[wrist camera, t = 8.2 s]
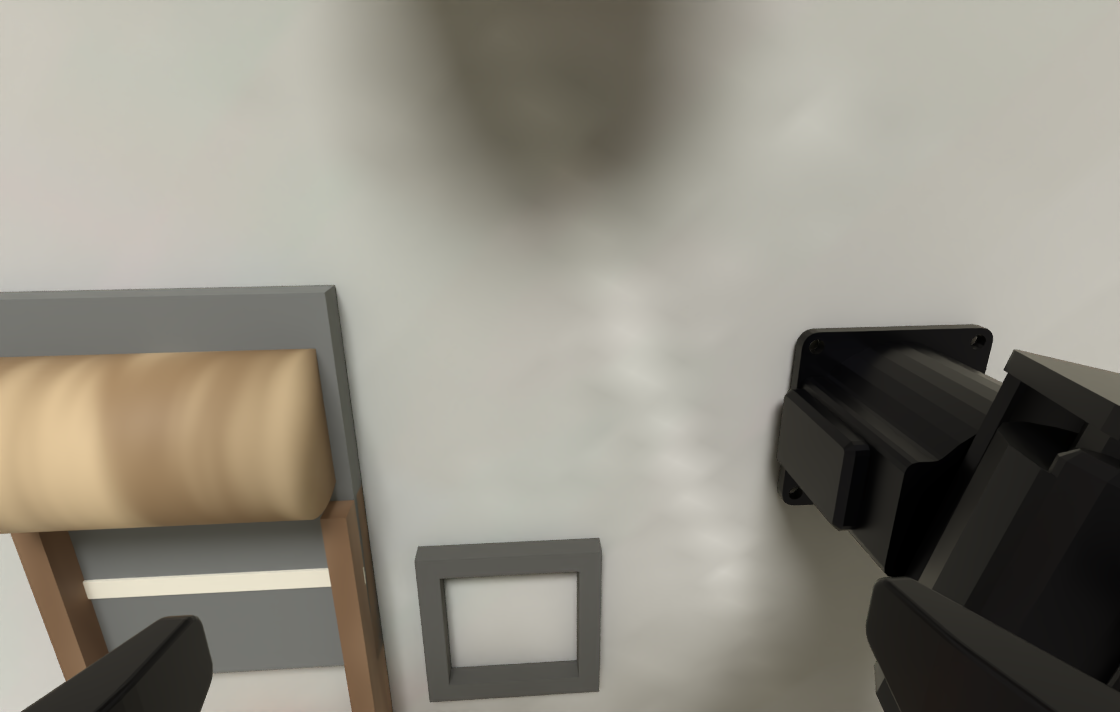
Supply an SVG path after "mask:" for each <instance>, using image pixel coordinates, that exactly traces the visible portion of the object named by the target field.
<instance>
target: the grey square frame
mask: <svg viewBox="0 0 1120 712" xmlns="http://www.w3.org/2000/svg"><path fill="white" fill-rule="evenodd" d="M415 569H416V579H417V588H418V597H419V607H420V616H421V625H422V635H423V644H424V653H425V663H426V672H427V681H428V691H429V700H430V702H441V701H457V700H472V699H488V698H504V697H519V696H535V695H551V694H566V693H582V692H597V691H599V670H600V619H601V569H602V550H601V546H600V541H599V538H590V539H569V540H548V541H527V542H507V543H486V544H465V545H444V546H423V547H418V550H417V554H416V558H415ZM561 572H577V660H576V661H559V662H543V663H526V664H510V665H493V666H477V667H460V668H451V659H450V647H449V636H448V625H447V613H446V602H445V591H444V580H443V579H444V578H463V577H483V576H502V575H522V574H541V573H561Z"/></svg>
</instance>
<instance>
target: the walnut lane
mask: <svg viewBox="0 0 1120 712" xmlns="http://www.w3.org/2000/svg"><path fill="white" fill-rule="evenodd" d="M356 498H358V499H357V502H358V505H357V506H358V512H359V519H360V520H359V522H360V528H361V529H360V530H361V537H362V543H363V544H362V547H363V550H364V551H363V554H364V555H363V556H364V561H365V562H364V563H365V569H366V572H365V573H366V576H367V579H366V580H367V583H368V585H367V586H368V593H369V594H368V593H367V586H366V584H365V579H364V572H363V567H364V565H363V558H362V551H361V544H360V537H359V530H358V523H357V516H356V509H355V502H354V500H346V501H329V503H328V505H327V507H326V509H325V511H324V512H323V514H322V516H321V518H320V523H321V529H322V535H323V541H324V547H325V553H326V559H327V565H328V571H329V577H330V583H331V589H332V595H333V601H334V607H335V613H336V619H337V625H338V631H339V636H340V642H341V648H342V654H343V660H344V666H345V672H346V678H347V684H348V690H349V696H350V702H351V708H352V712H393V710H392V703H391V696H390V688H389V681H388V673H387V666H386V659H385V651H384V644H383V645H382V646H381V644H382V643H383V642H382V643H379V642H381V641H382V640H380V639H379V637H380V636H378V635H380V633H378V632H380V631H381V630H379V629H378V627H377V625H379V624H378V623H380V622H378V623H377V622H376V621H377V620H378V618H380V617H379V616H380V615H378V614H377V612H378V609H376V607H377V608H378V606H377V603H378V602H376V601H375V600H376V599H377V598H376V595H375V594H376V592H375V591H376V590H375V589H376V588H374V587H375V580H374V579H375V578H374V576H373V575H374V572H373V570H372V569H373V565H372V564H373V563H372V560H371V559H372V556H370V555H371V552H370V551H371V549H370V546H369V545H370V541H369V534H368V526H367V519H366V512H365V507H364V506H365V504H364V497H363V490H362V484H361V487H360V489H359V491H358V493H357V496H356ZM366 529H367V530H366ZM11 536H12V539H13V541H14V544H15V547H16V549H17V552H18V555H19V557H20V560H21V563H22V565H23V568H24V571H25V573H26V576H27V579H28V581H29V584H30V587H31V589H32V592H33V595H34V597H35V600H36V603H37V605H38V608H39V611H40V613H41V616H42V619H43V621H44V624H45V627H46V629H47V632H48V635H49V637H50V640H51V643H52V645H53V648H54V651H55V653H56V656H57V659H58V661H59V664H60V667H61V669H62V672H63V675H64V677H65V680H66V681H67V680H69V679H70V678H72V677H73V676H75V675H76V674H78V673H79V672H81V671H82V670H84V669H85V668H87V667H88V666H90V665H91V664H93V663H94V662H96V661H97V660H99V659H100V658H102V657H103V656H105V655H106V654H108V653H109V652H108V649H107V646H106V643H105V640H104V637H103V634H102V631H101V628H100V625H99V622H98V619H97V616H96V613H95V610H94V607H93V604H92V601H91V599H88V597H87V594H86V591H85V588H84V585H83V581H84V577H83V574H82V571H81V568H80V565H79V562H78V559H77V556H76V553H75V550H74V548H73V545H72V542H71V539H70V536H69V533H68V531H50V532H28V533H11ZM368 559H369V560H370V561H369V560H368ZM371 563H372V564H371ZM372 572H373V573H372ZM370 574H371V575H370ZM372 574H373V575H372ZM372 576H373V578H372ZM373 581H374V583H373ZM371 582H372V583H371ZM372 584H374V585H372ZM372 590H373V591H374V592H375V593H374V592H373V591H372ZM368 595H369V597H368ZM374 597H375V598H374ZM368 598H369V600H368ZM369 601H370V602H369ZM372 601H373V602H372ZM369 604H370V608H369ZM374 606H375V607H374ZM371 608H372V609H371ZM370 610H371V612H370ZM376 610H377V612H376ZM374 611H375V612H376V613H375V612H374ZM370 613H371V615H370ZM375 617H376V618H375ZM377 617H378V618H377ZM371 621H372V622H371ZM378 621H380V620H378ZM372 624H373V625H372ZM380 625H381V624H380ZM372 627H373V628H372ZM379 628H380V629H381V627H379ZM377 630H378V631H377ZM377 633H378V634H377ZM381 636H382V635H381ZM374 638H375V639H374ZM382 639H383V638H382ZM379 640H380V641H379ZM374 641H375V642H374ZM379 646H381V647H382V648H381V647H380V649H378V648H379ZM379 650H381V651H379ZM378 656H379V657H378Z"/></svg>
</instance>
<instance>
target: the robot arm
mask: <svg viewBox="0 0 1120 712" xmlns="http://www.w3.org/2000/svg"><path fill="white" fill-rule="evenodd" d="M975 336H977V339H976V341H975V343H973V344H972V345H971V341H972V339H973V338H974V337H975ZM817 339H818V340H819V344H818V346H817V347H816V348H815V349H814V350H810V349H809V346H810V344H811V343H812V342H813V341H814V340H817ZM992 343H993V335H992V333H991V331H989V330H988V329H986V328H984V327H981V326H979V325H974V324H968V325H931V326H894V327H857V328H820V329H809V330H807V331H805V332H803V333H802V334H801V335H800V337H799V338H798V341H797V344H796V352H795V359H794V367H793V374H792V382H791V389H790V390H789V391H788V392H787V394H786V395H785V397H784V404H783V412H782V420H781V427H780V435H779V443H778V450H777V460H778V461H779V462H780V463H781V465H780V472H779V480H778V487H777V489H778V493H779V495H780V496H781V498H782V499H783V500H784V502H785V503H787V504H789V505H811V504H815V506H816V507H817V508H818V509H819V510H820V512H821V513H822V514H823V515H824V517H825V518H826V519H827V520H828V521H829V523H830V524H831V525H832V526H833V527H834V528H836V529H837V530H838V531H845V530H848V531H849V532H850V533H851V534H852V536H853V537H854V538H855V539H856V540H857V541H858V542H859V544H860V545H861V546H862V547H863V548H864V549H865V551H866V552H867V553H868V554H869V555H870V556H871V558H872V559H873V560H874V561H875V562H876V563H877V565H878V566H879V567H880V568H881V569H882V570H883V572H884V573H885V574H886V575H887V576H890V577H886V578H880V579H878V580H877V581H876V583H875V584H874V587H873V592H872V596H871V601H870V606H869V611H868V616H867V620H866V635H867V639H868V642H869V645H870V647H871V649H872V651H873V654H874V656H875V658H876V660H877V661H876V663H875V665H874V670H875V685H876V694H877V697H878V699H879V701H880V703H881V706H882V708H883V710H884V712H1120V373H1115V372H1111V371H1107V370H1102V369H1098V368H1094V367H1089V366H1085V365H1081V364H1076V363H1072V362H1068V361H1064V360H1059V359H1055V358H1051V357H1046V356H1042V355H1038V354H1033V353H1029V352H1025V351H1020V350H1016V349H1014V350H1013V352H1012V354H1011V356H1010V358H1009V360H1008V362H1007V364H1006V366H1005V368H1004V371H1006V372H1008V374H1007V376H1006V378H1005V379H1004V381H1003V383H1002V382H1000V381H998V380H996V379H994V378H992V377H989V376H987V375H985V371H986V367H987V363H988V359H989V355H990V351H991V347H992ZM794 487H798V488H797V490H796V491H795V492H793V493H789V492H790V490H791V489H792V488H794ZM903 576H904V577H903ZM212 675H213V662H212V658H211V654H210V650H209V647H208V643H207V639H206V635H205V631H204V627H203V624H202V622H201V620H200V619H199V617H197V616H194V615H181V616H167V617H163V618H160V619H159V620H157V621H155V622H154V623H152V624H151V625H149V626H148V627H146V628H145V629H143V630H142V631H140V632H139V633H137V634H136V635H134V636H133V637H131V638H130V639H128V640H127V641H125V642H124V643H123V644H121V645H120V646H118V647H117V648H115V649H114V650H112V651H111V652H109V653H108V654H106V655H105V656H103V657H102V658H100V659H99V660H97V661H96V662H94V663H93V664H91V665H90V666H88V667H87V668H85V669H84V670H82V671H81V672H79V673H78V674H76V675H75V676H73V677H72V678H70V679H69V680H67V681H66V682H64V683H63V684H62V685H60V686H59V687H57V688H56V689H54V690H53V691H51V692H50V693H48V694H47V695H45V696H44V697H42V698H41V699H39V700H38V701H36V702H35V703H33V704H32V705H30V706H29V707H27V708H26V709H24V710H23V711H21V712H200V711H201V709H202V706H203V703H204V701H205V698H206V695H207V692H208V690H209V687H210V684H211V680H212Z"/></svg>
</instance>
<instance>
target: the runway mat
mask: <svg viewBox="0 0 1120 712" xmlns="http://www.w3.org/2000/svg"><path fill="white" fill-rule="evenodd" d="M281 349H316V355H317V361H318V368H319V375H320V381H321V388H322V394H323V401H324V407H325V414H326V420H327V427H328V434H329V440H330V447H331V453H332V460H333V466H334V473H335V479H336V484H335V487H334V490H333V493H332V496H331V499H330V501H346V500H354V502H355V509H356V516H357V523H358V530H359V537H360V544H361V551H362V558H363V565H364V567H363V572H364V579H365V584H366V586H367V585H368V583H367V580H366V579H367V576H366V573H365V572H366V569H365V563H364V562H365V561H364V556H363V555H364V554H363V551H364V550H363V547H362V544H363V543H362V537H361V530H360V529H361V528H360V522H359V520H360V519H359V512H358V506H357V505H358V502H357V499H358V498H356V496H357V493H358V491H359V489H360V487H361V484H362V482H361V475H360V468H359V460H358V453H357V446H356V438H355V431H354V424H353V416H352V409H351V402H350V394H349V387H348V379H347V372H346V365H345V357H344V350H343V343H342V335H341V328H340V321H339V313H338V306H337V299H336V291H335V285H315V286H268V287H221V288H174V289H127V290H79V291H32V292H0V357H27V356H63V355H99V354H135V353H172V352H208V351H244V350H281ZM364 507H365V506H364ZM325 509H326V508H325ZM324 511H325V510H324ZM324 511H323V512H324ZM322 514H323V513H322ZM322 514H321V515H320V516H319V517H317V518H316V519H313V520H295V521H273V522H251V523H228V524H206V525H184V526H161V527H139V528H117V529H94V530H72V531H68V533H69V536H70V539H71V542H72V545H73V548H74V550H75V553H76V556H77V559H78V562H79V565H80V568H81V571H82V574H83V577H84V581H83V585H84V588H85V591H86V594H87V597H88V599H91V601H92V604H93V607H94V610H95V613H96V616H97V619H98V622H99V625H100V628H101V631H102V634H103V637H104V640H105V643H106V646H107V649H108V652H111V651H112V650H114V649H115V648H117V647H118V646H120V645H121V644H123V643H124V642H125V641H127V640H128V639H130V638H131V637H133V636H134V635H136V634H137V633H139V632H140V631H142V630H143V629H145V628H146V627H148V626H149V625H151V624H152V623H154V622H155V621H157V620H159V619H160V618H163V617H167V616H181V615H194V616H197V617H199V619H200V620H201V622H202V624H203V627H204V631H205V635H206V639H207V643H208V647H209V650H210V654H211V658H212V662H213V673H225V672H242V671H259V670H275V669H292V668H309V667H326V666H342V665H344V660H343V654H342V648H341V642H340V636H339V631H338V625H337V619H336V613H335V607H334V601H333V595H332V589H331V583H330V577H329V571H328V565H327V559H326V553H325V547H324V541H323V535H322V529H321V523H320V518H321V516H322ZM366 530H367V529H366ZM369 546H370V545H369ZM370 552H371V551H370ZM370 556H371V555H370ZM368 560H369V559H368ZM371 560H372V559H371ZM369 561H370V560H369ZM371 564H372V563H371ZM372 565H373V564H372ZM372 570H373V569H372ZM373 572H374V571H373ZM373 572H372V573H373ZM370 575H371V574H370ZM372 575H373V574H372ZM373 576H374V575H373ZM373 576H372V578H373ZM374 580H375V579H374ZM371 583H372V582H371ZM373 583H374V581H373ZM372 585H374V584H372ZM374 588H376V585H375V587H374ZM375 590H376V589H375ZM372 591H373V590H372ZM373 592H374V591H373ZM375 592H376V591H375ZM375 592H374V593H375ZM367 593H368V586H367ZM368 594H369V593H368ZM375 595H376V598H377V593H376V594H375ZM368 597H369V595H368ZM374 598H375V597H374ZM368 600H369V598H368ZM375 601H376V602H378V600H377V599H376V600H375ZM369 602H370V601H369ZM372 602H373V601H372ZM377 606H378V603H377ZM374 607H375V606H374ZM369 608H370V604H369ZM371 609H372V608H371ZM376 609H378V612H377V610H376V612H377V614H378V615H379V607H378V608H377V607H376ZM370 612H371V610H370ZM374 612H375V611H374ZM376 612H375V613H376ZM370 615H371V613H370ZM379 617H380V616H379ZM375 618H376V617H375ZM377 618H378V617H377ZM378 620H380V618H378ZM378 620H377V621H376V622H377V623H378V622H380V621H378ZM371 622H372V621H371ZM378 624H379V625H377V627H378V629H379V630H381V631H380V632H378V633H380V635H378V636H380V637H379V639H380V640H382V641H381V642H379V643H382V642H383V639H382V638H383V637H382V636H381V635H382V629H380V628H379V627H381V625H380V624H381V622H380V623H378ZM372 625H373V624H372ZM372 628H373V627H372ZM377 631H378V630H377ZM378 633H377V634H378ZM374 639H375V638H374ZM380 640H379V641H380ZM374 642H375V641H374ZM382 645H383V643H382V644H381V646H382ZM381 646H379V648H378V649H380V647H381ZM381 648H382V647H381ZM379 651H381V650H379ZM378 657H379V656H378Z"/></svg>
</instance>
